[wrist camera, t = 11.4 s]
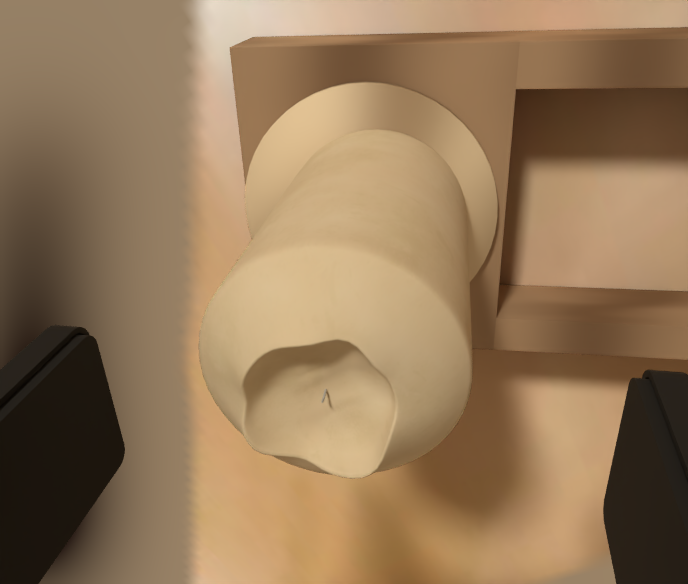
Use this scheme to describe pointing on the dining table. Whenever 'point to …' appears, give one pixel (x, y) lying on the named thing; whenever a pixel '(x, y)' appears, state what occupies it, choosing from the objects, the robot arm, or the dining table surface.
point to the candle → (349, 312)
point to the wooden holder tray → (461, 151)
